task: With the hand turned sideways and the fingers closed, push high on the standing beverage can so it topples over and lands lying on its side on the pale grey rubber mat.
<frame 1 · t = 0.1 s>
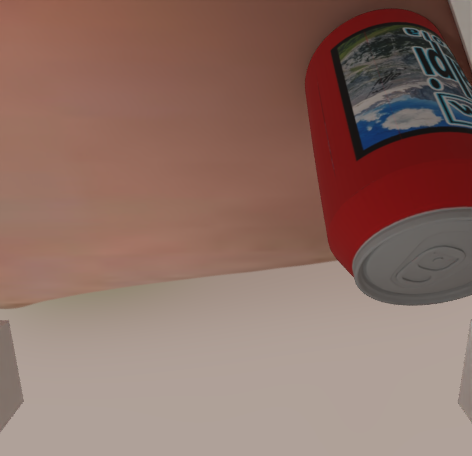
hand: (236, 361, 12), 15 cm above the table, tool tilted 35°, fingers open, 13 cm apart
beverage can: (369, 65, 22), on the table
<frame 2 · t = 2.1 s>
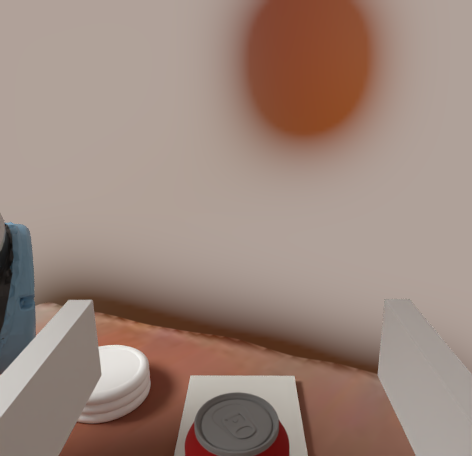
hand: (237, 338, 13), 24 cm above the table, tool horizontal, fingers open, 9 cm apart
coaster: (106, 395, 48), on the table
mat: (241, 432, 42), on the table
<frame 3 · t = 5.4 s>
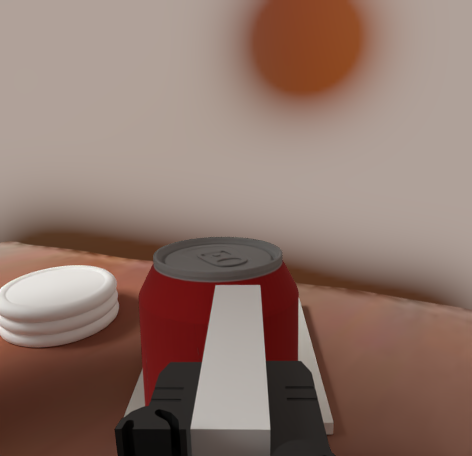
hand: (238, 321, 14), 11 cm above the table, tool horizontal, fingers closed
coaster: (62, 322, 38), on the table
mat: (231, 354, 32), on the table
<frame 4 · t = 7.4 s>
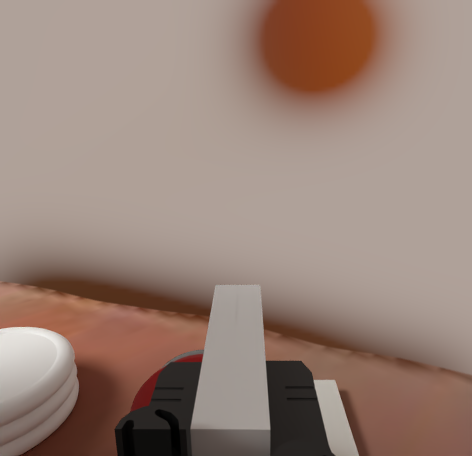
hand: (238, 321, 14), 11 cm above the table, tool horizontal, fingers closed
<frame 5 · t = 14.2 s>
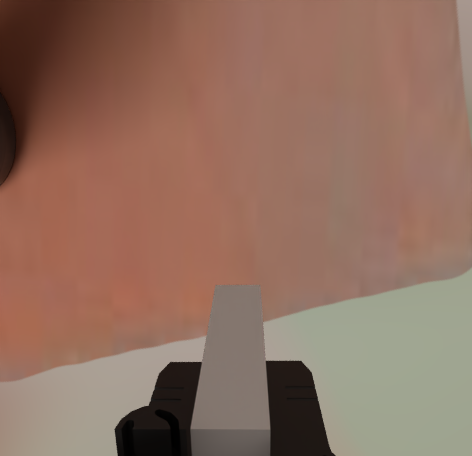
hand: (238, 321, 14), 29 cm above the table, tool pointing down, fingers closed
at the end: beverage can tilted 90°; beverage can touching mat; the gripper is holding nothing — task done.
